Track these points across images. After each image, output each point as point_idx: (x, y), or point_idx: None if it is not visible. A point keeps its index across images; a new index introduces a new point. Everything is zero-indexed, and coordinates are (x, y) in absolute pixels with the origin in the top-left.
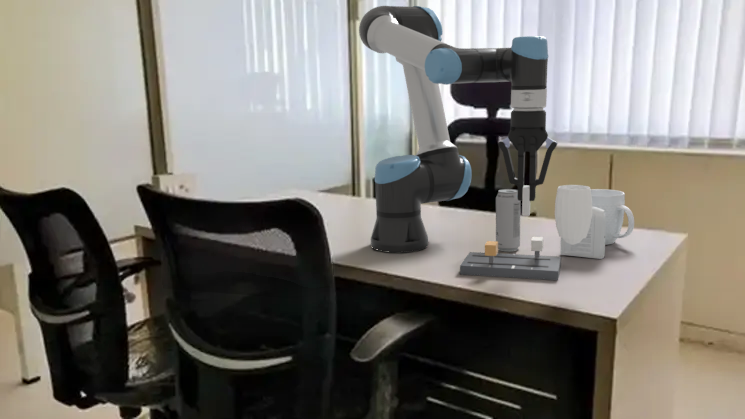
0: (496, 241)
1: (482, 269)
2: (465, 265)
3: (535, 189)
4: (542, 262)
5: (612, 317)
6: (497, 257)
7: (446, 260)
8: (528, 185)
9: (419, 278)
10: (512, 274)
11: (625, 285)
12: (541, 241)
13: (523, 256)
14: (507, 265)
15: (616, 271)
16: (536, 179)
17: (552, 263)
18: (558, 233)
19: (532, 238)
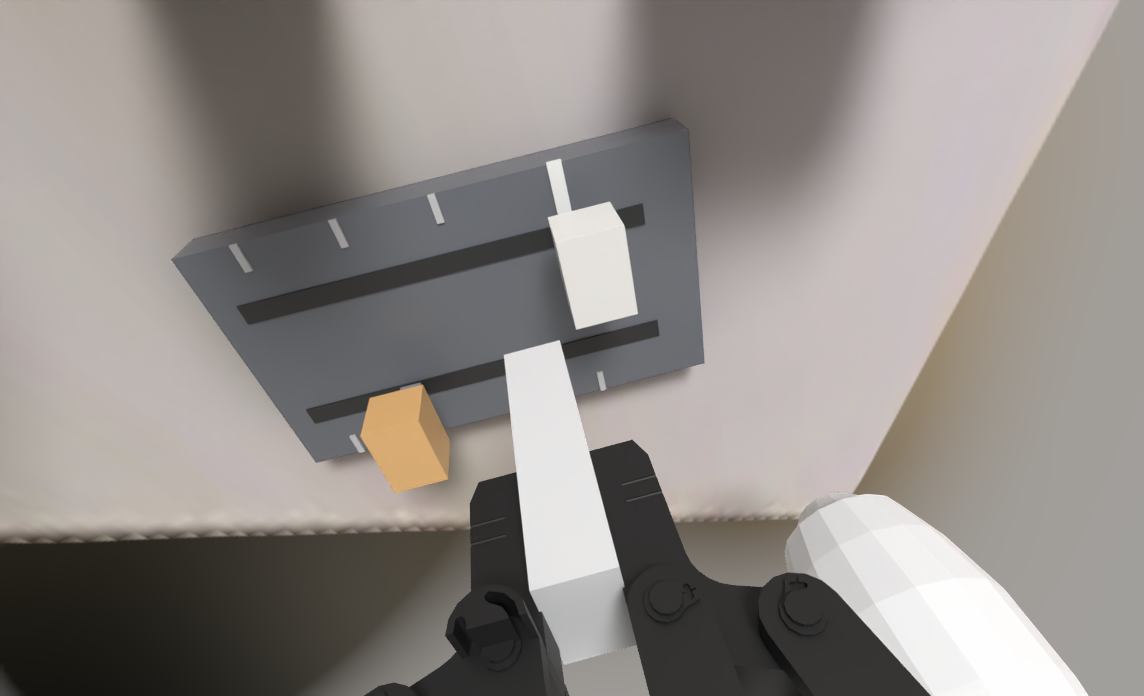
0: (410, 424)
1: None
2: (334, 452)
3: (679, 543)
4: None
5: None
6: (383, 294)
7: (90, 296)
8: (591, 576)
9: (231, 523)
10: None
11: (920, 291)
12: (633, 313)
13: (497, 217)
14: (492, 383)
15: (929, 115)
16: (742, 681)
17: (666, 275)
18: (787, 567)
19: (570, 288)
